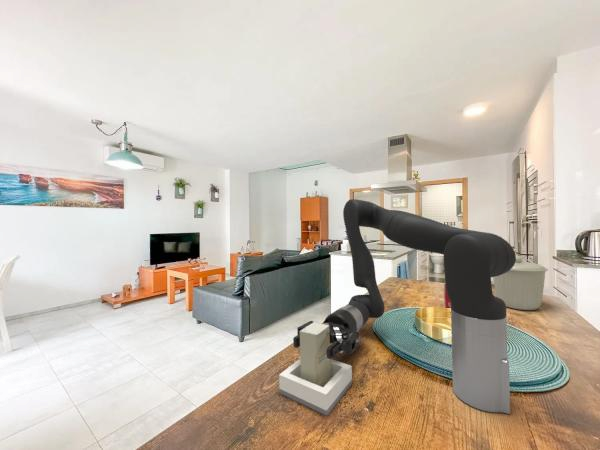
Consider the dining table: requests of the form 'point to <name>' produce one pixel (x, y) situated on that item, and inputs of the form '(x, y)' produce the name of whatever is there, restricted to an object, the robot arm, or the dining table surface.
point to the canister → (521, 285)
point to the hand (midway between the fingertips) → (310, 348)
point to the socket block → (316, 386)
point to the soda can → (446, 298)
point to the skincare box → (315, 354)
